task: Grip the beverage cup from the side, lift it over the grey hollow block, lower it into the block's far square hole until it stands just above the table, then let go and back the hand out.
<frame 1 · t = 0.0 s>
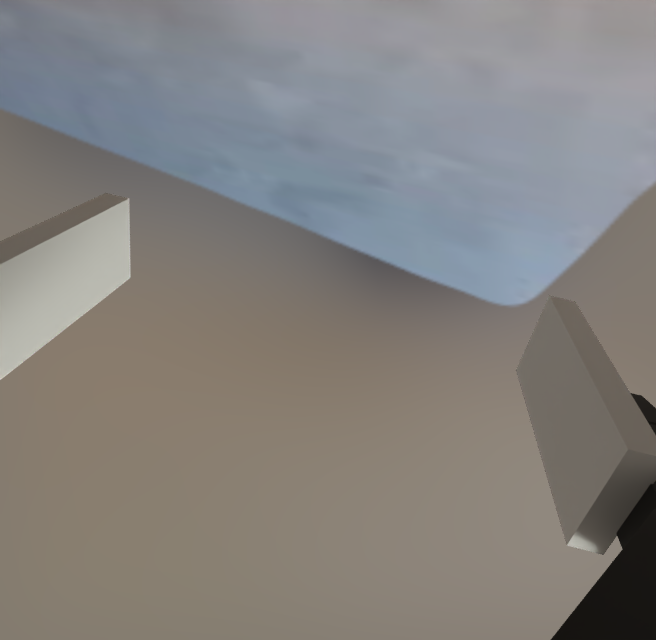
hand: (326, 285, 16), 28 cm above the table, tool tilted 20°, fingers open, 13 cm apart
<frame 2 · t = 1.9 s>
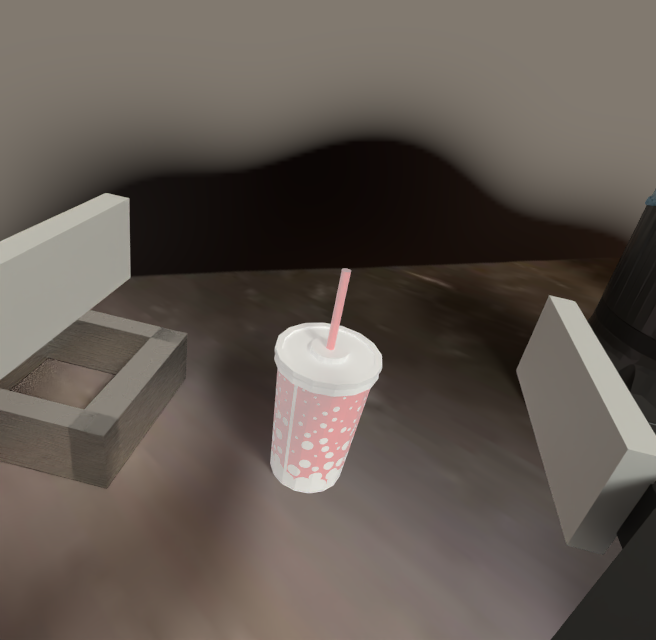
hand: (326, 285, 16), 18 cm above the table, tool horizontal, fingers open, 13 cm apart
beverage cup: (305, 466, 33), on the table
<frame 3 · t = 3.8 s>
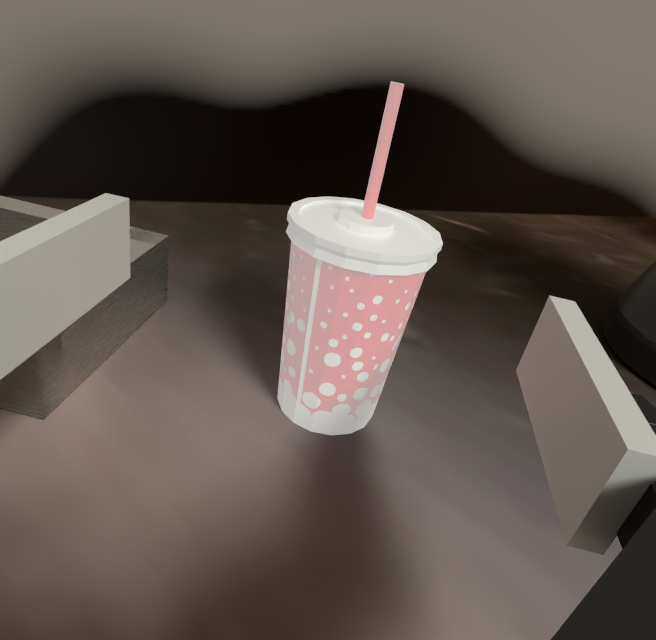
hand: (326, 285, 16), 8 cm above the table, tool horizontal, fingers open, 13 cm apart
beverage cup: (324, 404, 24), on the table
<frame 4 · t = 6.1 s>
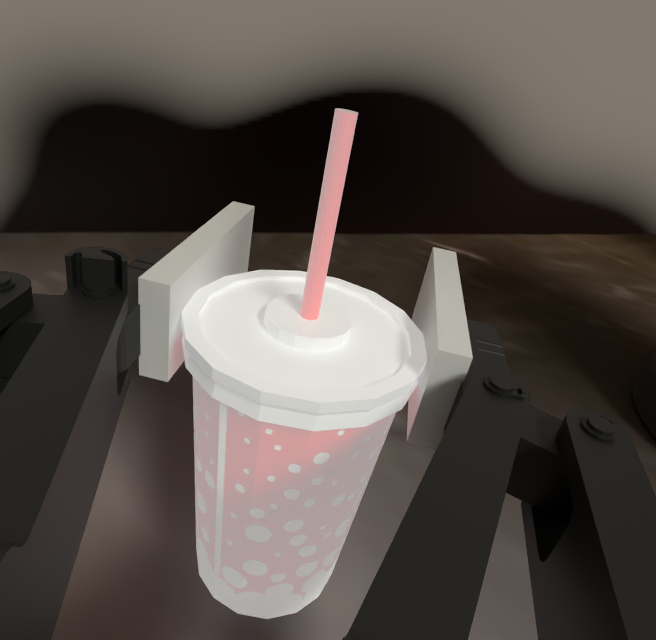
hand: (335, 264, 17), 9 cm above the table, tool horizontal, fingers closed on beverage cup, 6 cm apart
beverage cup: (265, 553, 17), on the table, touching gripper
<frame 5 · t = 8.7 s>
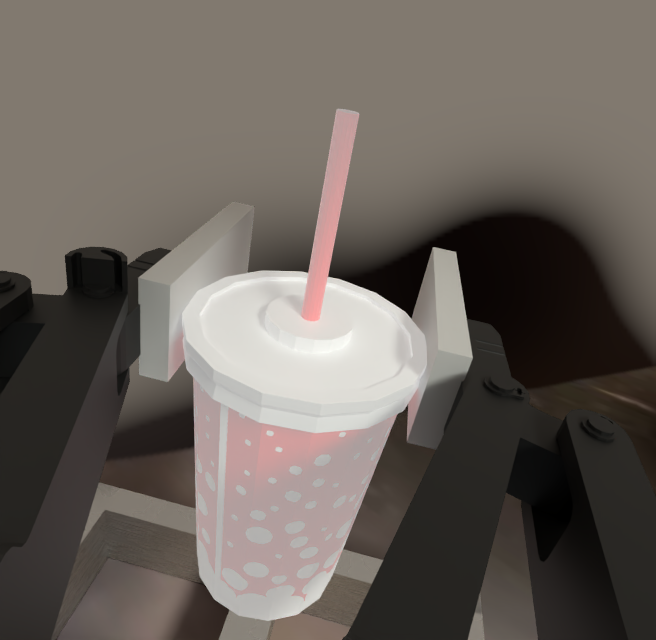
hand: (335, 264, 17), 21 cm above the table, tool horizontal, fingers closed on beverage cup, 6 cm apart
beverage cup: (266, 555, 17), point 12 cm above the table, touching gripper
when the fingers open (9 cm above the table, at t = 11.5 s): beverage cup stays where it is, resting in grey hollow block.
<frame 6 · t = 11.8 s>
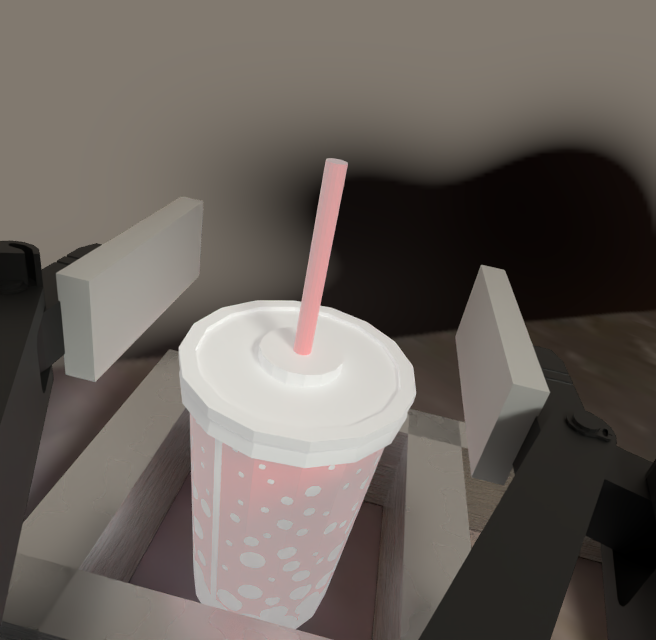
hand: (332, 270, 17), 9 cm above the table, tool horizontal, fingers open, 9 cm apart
grey hollow block: (404, 605, 17), on the table
beverage cup: (261, 573, 18), resting in grey hollow block
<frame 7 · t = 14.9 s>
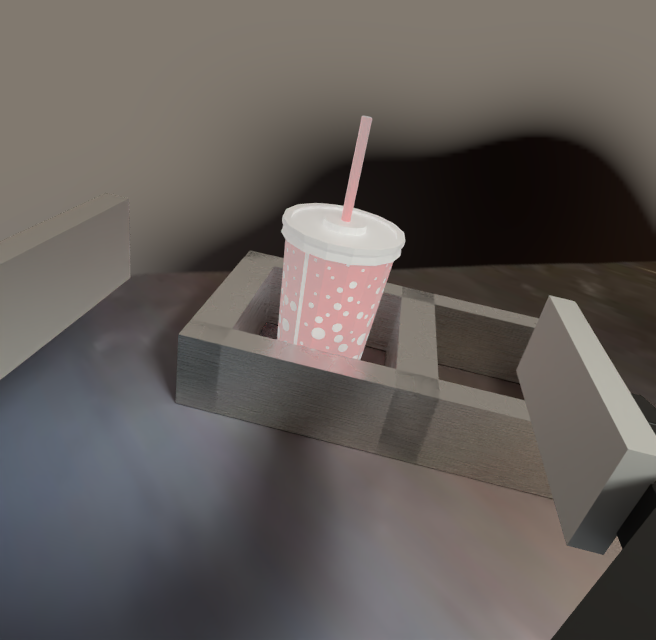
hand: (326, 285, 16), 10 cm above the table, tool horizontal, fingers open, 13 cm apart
grey hollow block: (399, 391, 29), on the table
beverage cup: (313, 374, 29), resting in grey hollow block
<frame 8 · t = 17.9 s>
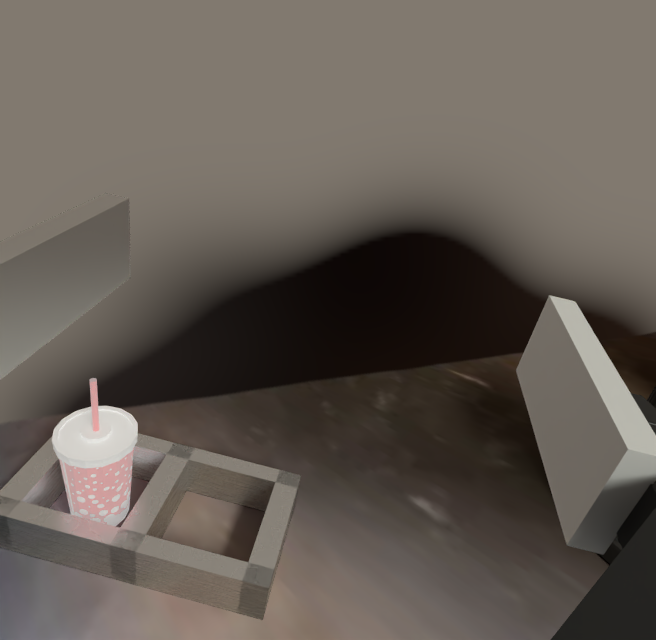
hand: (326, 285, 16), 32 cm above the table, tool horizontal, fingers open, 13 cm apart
grey hollow block: (156, 523, 44), on the table
beverage cup: (101, 510, 44), resting in grey hollow block
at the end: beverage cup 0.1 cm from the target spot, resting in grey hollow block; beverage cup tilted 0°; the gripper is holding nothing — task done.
